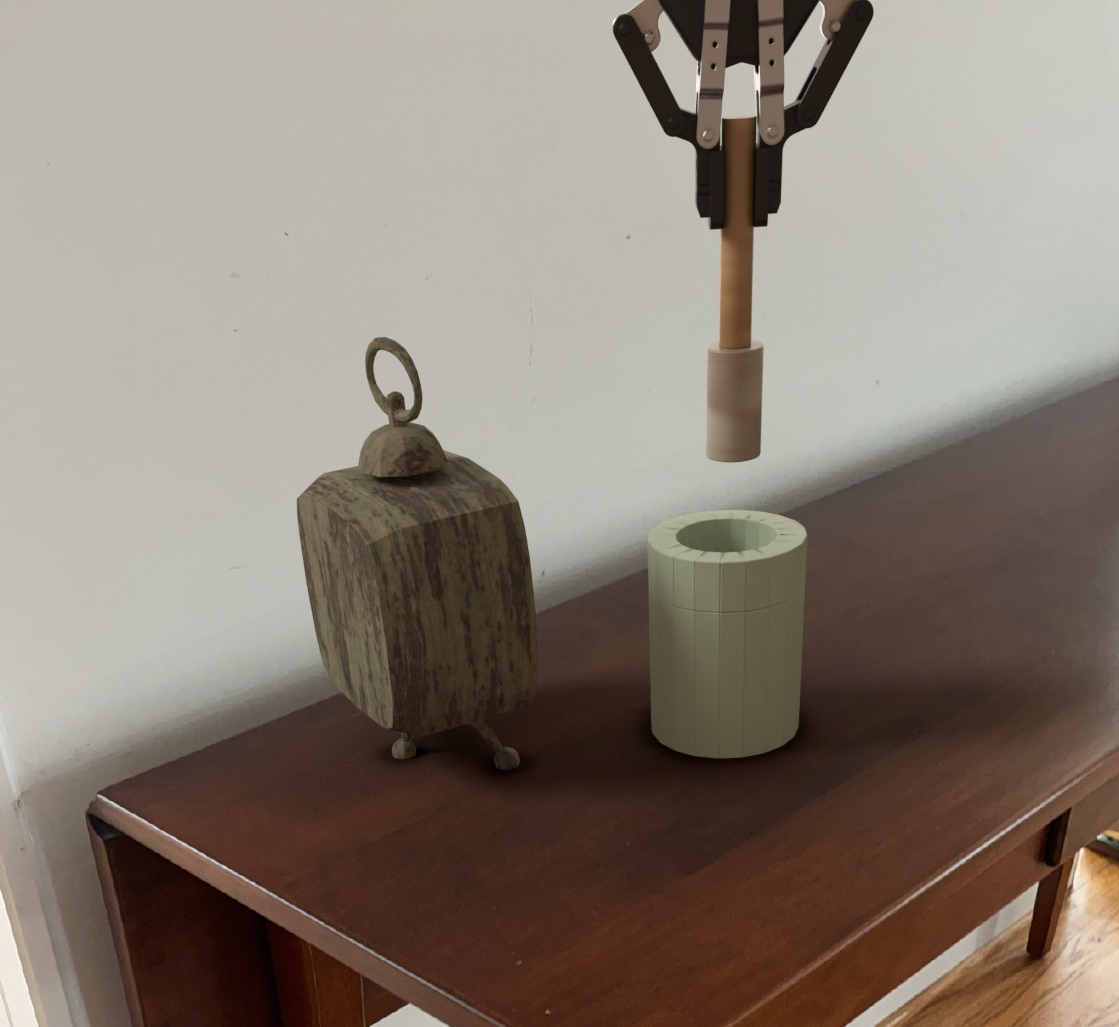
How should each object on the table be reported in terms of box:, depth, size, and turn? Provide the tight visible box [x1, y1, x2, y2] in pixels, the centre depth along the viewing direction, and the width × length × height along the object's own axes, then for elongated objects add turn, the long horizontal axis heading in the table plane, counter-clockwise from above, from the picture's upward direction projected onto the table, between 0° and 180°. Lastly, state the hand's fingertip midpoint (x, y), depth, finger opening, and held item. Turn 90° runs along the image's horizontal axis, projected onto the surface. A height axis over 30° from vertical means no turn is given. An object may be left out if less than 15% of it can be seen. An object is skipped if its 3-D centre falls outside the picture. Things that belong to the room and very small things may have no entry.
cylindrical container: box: [647, 509, 808, 760], centre depth 89 cm, size 9×9×13 cm
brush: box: [705, 114, 765, 464], centre depth 79 cm, size 3×3×17 cm
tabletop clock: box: [296, 336, 538, 771], centre depth 85 cm, size 14×9×25 cm, turn 30°
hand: (736, 224), depth 77 cm, fingers closed on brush, 2 cm apart
